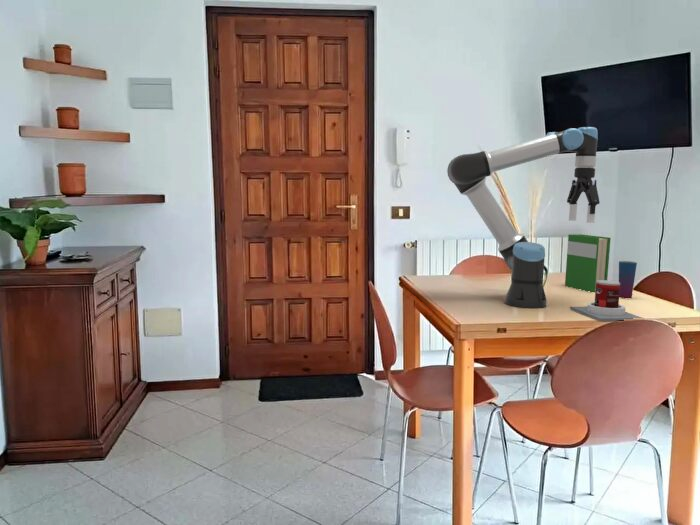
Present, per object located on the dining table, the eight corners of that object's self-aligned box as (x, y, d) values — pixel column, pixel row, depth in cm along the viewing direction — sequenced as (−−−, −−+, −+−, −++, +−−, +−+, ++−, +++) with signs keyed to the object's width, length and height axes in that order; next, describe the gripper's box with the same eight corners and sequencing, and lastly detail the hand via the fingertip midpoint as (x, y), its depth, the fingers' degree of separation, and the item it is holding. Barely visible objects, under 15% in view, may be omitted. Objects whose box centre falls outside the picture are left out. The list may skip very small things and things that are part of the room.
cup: (635, 299, 248) (638, 263, 246) (618, 298, 249) (621, 262, 247) (631, 296, 255) (634, 261, 253) (614, 295, 256) (617, 260, 254)
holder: (600, 321, 204) (601, 311, 204) (570, 309, 224) (571, 300, 223) (643, 320, 207) (644, 310, 206) (610, 309, 226) (610, 299, 226)
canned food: (597, 309, 220) (599, 279, 219) (620, 312, 215) (622, 281, 214) (591, 312, 214) (593, 281, 213) (614, 315, 209) (617, 284, 208)
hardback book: (606, 292, 265) (610, 237, 262) (593, 292, 262) (597, 237, 259) (577, 285, 281) (581, 234, 278) (564, 286, 278) (568, 234, 275)
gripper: (612, 166, 225) (607, 223, 228) (577, 168, 249) (573, 219, 252) (593, 166, 224) (589, 223, 226) (560, 168, 248) (557, 219, 251)
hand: (581, 221), depth 239 cm, fingers open, 13 cm apart
